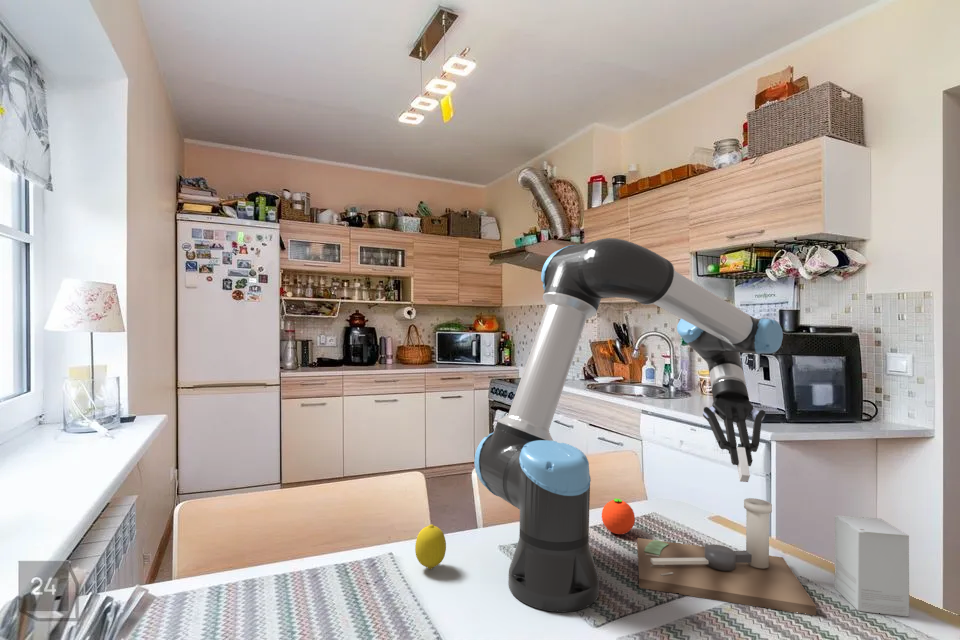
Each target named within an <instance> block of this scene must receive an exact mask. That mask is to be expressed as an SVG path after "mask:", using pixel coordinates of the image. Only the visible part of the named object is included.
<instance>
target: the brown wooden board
mask: <svg viewBox="0 0 960 640" xmlns="http://www.w3.org/2000/svg"><path fill="white" fill-rule="evenodd" d="M636 547H637V567H638V569H637V570H638V586H639V587H638V588H640V589H647V590H653V591H658V592H665V593H670V592H672V593H671V594H676V593H679V594H678V595H684V596H690V597H695V598H696V597H697V598H703V599H707V600H715V601H720V602H727V603H733V604H739V605H744V604H745V605H746V606H751V605H753V606H752V607H757V606H760V607H759V608H763V607H765V609H769V608H771V610H775V609H777V611H781V610H782V611H783V612H790V613H794V612H795V613H796V612H798V613H796V614H800V613H804V614H803V615H806V614H810V615H809V616H812V615H816V616H817V604H815V602H814V601H813V599H812V598H811V597H810V594H808V592H807V590H806V589H805V588H804V586H803V585H802V583H801V582H800V580H799V579H798V578H797V576H796V575H795V573H794V572H793V570H792V568H790V567H791V566H789V564H788V563H787V561H786V560H785V558H784V557H783V556H777V555H775V556H774V555H770V554H769V567H768V568H764V569H763V568H756V567H753V566H751V565H749V564H747V563H735V569H734V570H732V571H722V570H717V569H714V568H712V567H710V566H708V565H707V564H673V565H653V564H652V563H651V558H705V546H702V545H695V544H693V545H692V544H687V543H679V542H671V541H663V540H658V539H647V538H642V537H641V538H640V537H637V546H636ZM745 605H744V606H745ZM805 613H806V614H805ZM811 614H812V615H811Z"/></svg>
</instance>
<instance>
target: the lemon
mask: <svg viewBox="0 0 960 640" xmlns="http://www.w3.org/2000/svg"><path fill="white" fill-rule="evenodd" d="M414 545H415V546H414V547H415V549H414V550H415V556H416V558H417V561H418V563H419V564H420V565H422V566H423V567H425V568H427V569H428V570H433V569H434V567H437V566H438V565H440V564H441V563H442V562H443V560H444V558H445V555H446V551H447V543H446V537H445V534H444V532H443V531H442V529H440V528H439V527H438V526H435V525H434V524H432V523H431V524H430V523H429V524H428V525H427V526H425V527H423V528H422V529H420V531H419V533H418V534H417V537H416V540H415V544H414Z"/></svg>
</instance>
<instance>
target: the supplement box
mask: <svg viewBox="0 0 960 640" xmlns="http://www.w3.org/2000/svg"><path fill="white" fill-rule="evenodd" d="M834 589H835V590H836V591H837V592H838V593H839V594H840V595H841V596H843V598H845V600H847V601H848V603H850V605H851V606H852V607H854V608H855V609H856V611H858V612H865V613H866V612H867V613H870V614H872V613H873V614H879V613H880V614H882V615H890V616H899V617H910V535H908V534H907V533H906V532H904V531H902V530H901V529H899V528H897V527H896V526H894V525H892V524H891V523H889V522H887V521H885V520H884V519H882V518H878V517H877V518H876V517H865V516H849V515H834Z"/></svg>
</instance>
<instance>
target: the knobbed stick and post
mask: <svg viewBox="0 0 960 640" xmlns="http://www.w3.org/2000/svg"><path fill="white" fill-rule="evenodd" d="M743 508H744V509H745V511H746V512H745V513H746V516H745V517H746V519H745V520H746V522H745V525H746V526H745V529H746V530H745V536H746V537H745V541H746V542H745V550H734V549H732V548H730V547H727V546H725V545H720V544H715V543H714V544H712V543H711V544H707V545H705V546H704V547H705V558H651V563H652V564H653V565H673V564H707V565H708V566H710V567H712V568H714V569H717V570H722V571H732V570H734V569H735V563H747V564H749V565H751V566H753V567H756V568H763V569H764V568H768V567H769V555H770V514H771V513H772V512H773V504H772V503H771V502H769V501H767V500H765V499H760V498H751V497H749V498H748V497H747V498H745V499H744V500H743Z"/></svg>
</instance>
